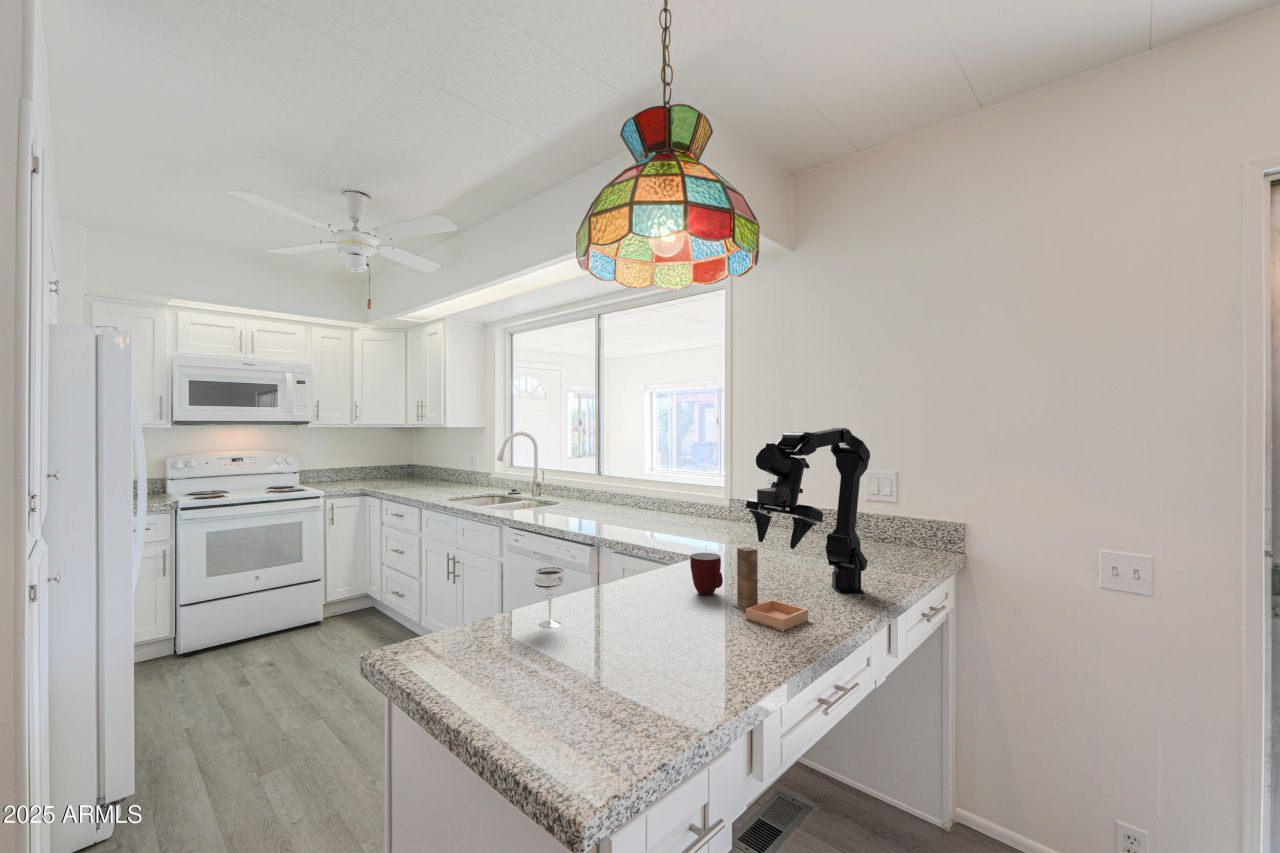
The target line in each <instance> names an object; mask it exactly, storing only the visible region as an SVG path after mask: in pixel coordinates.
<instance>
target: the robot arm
mask: <svg viewBox="0 0 1280 853" xmlns="http://www.w3.org/2000/svg"><path fill="white" fill-rule="evenodd" d="M828 446H830V452H831V453H832V456H834V458H835V467H836V469H837V471H838V472H839V475H840V482H839V489H838V490H839V492H838V502H837V510H836V511H837V513H836V519H835V520H836V521H835V529H834V530H833V531H832V532H831V533H828V534H827V535H826V545H825V547H824V548H825V554H826V559H827V562H828V563H827V564H828V566H833V571H831V572H832V573H831V579H832V581H831V587H832V588H833V589H835V591H837V592H838V593H840V594H864V593H865V590H863V589H862V572H865V570H866V569H867V566H868V560H867V558H866V557H865V555H864V554H863V552H862V550H861V541H860V539H859V536H858V533H857V532H856V524H857V515H858V504H859V503H858V502H859V493H860V484H861V483H860V482H861V481H860V480H861V478H862V476H863V475H864V474H865V472H866V471H867V470H868V467H869V463H870V459H871V451H870V450H869V448H868V447H867V445H866V443H864V441H863V440H861V439H860V438H859V437H857V436H856V435H853V433H852V432H851V430H850V429H849V428H846V427H832V428H829V429H826V430H819V431H812V432H809V431H786V432H783V433H782V437H780V439H779V440H778V441H777V442H776V443H774V442H766V444H765V447H763V448H762V449H760V451H758V453H757V455H756V457H755V464H756V467H757V468H758V469H759V470H761V471H762V472H763V471H764V472H765V473H767V474H770V475H772V476H775V477H777V478H776V481H772V483H771V486H770V487H764V488H758V489H757V490H756V498H753V497H750V498H748V500H746V504H745V509H747V510H748V512H749V513H750V514H752V516H753V517H754V520H755V524H756V532H757V539H758V540H757V541H758V542H759V543H763V542H764V541H765V537H766V535H767V532H768V530H769V526H770V524H771V521H772V518H773V516H772V515H771V513H777V514H784V515H791V517H792V523H793V527H792V533H791V538H790V543H789V544H790V546H789V549H791V550H795V548H796V547H797V546H798V544H799V543H800V542H801V541H802V539H803V538H804V537H805V536H806V534H807V533H808V532H809V531H810V530H811V529H812V527H813V526H817V525H818V524H817V523H820V524H822V523H823V519H824V514H823V511H822V510H821V509H819V508H817V507H815V506H812V505H806V504H800V503H799V504H798V500H799V494H803V493H804V489H803V488H801V485H802V481H803V475H804V470H808V469H810V464H809V463H808V462H807V459H806V458H805V457H802V456H810V455H812V454H813V453H816V452H817V449H818V448H822V447H823V448H824V447H828ZM795 516H797V517H795Z"/></svg>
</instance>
